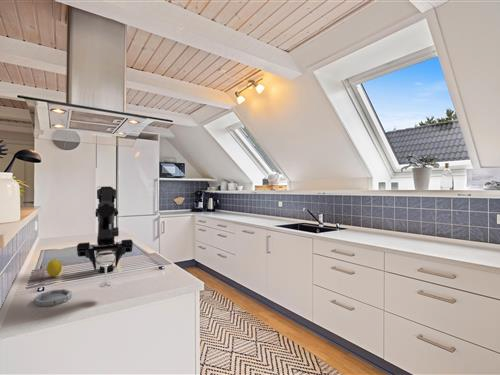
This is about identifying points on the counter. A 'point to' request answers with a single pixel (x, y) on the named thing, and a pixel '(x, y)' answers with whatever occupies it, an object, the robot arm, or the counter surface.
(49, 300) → the holder
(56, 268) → the lemon
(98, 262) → the wineglass
